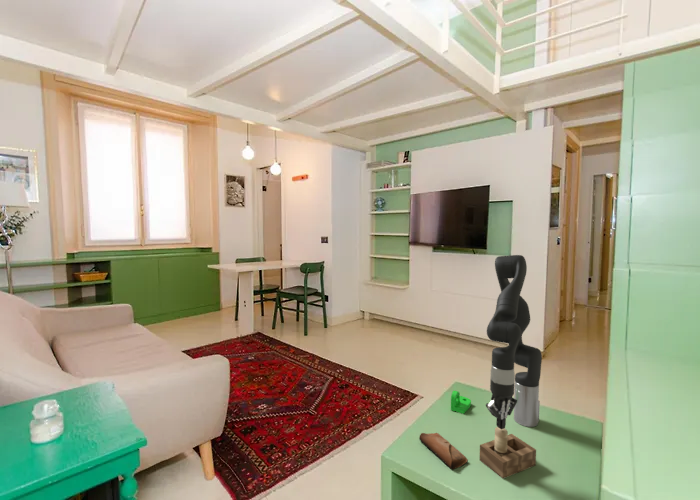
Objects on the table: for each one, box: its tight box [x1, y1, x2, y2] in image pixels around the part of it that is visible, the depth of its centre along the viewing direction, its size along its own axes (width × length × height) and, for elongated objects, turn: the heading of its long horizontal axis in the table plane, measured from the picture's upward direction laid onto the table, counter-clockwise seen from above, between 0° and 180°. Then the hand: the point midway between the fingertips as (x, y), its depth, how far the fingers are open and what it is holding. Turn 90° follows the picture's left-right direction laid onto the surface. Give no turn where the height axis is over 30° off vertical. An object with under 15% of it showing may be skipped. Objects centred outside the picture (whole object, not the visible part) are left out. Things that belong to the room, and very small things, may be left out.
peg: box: [494, 426, 509, 457], centre depth 115 cm, size 4×4×12 cm
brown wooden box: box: [479, 433, 537, 480], centre depth 117 cm, size 16×10×6 cm, turn 114°
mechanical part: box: [450, 390, 472, 415], centre depth 155 cm, size 12×6×8 cm, turn 141°
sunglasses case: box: [418, 432, 469, 470], centre depth 122 cm, size 18×7×7 cm
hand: (500, 427), depth 115 cm, fingers closed
